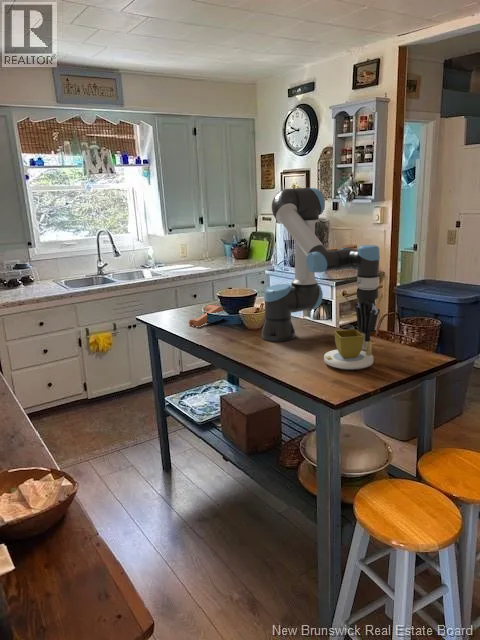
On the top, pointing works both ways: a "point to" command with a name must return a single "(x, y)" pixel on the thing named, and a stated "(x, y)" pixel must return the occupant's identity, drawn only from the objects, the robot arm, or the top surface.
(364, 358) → the disc
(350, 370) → the turntable base
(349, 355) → the flower pot
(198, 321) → the crank
